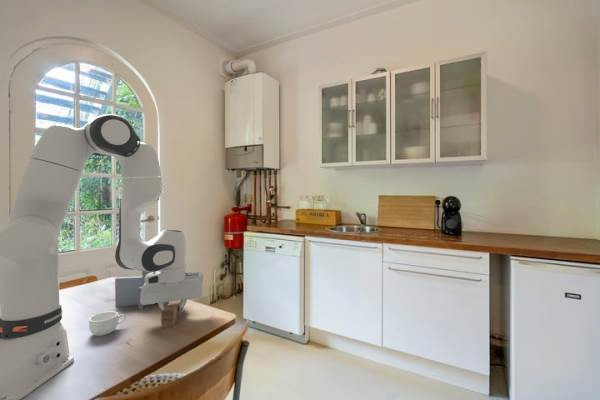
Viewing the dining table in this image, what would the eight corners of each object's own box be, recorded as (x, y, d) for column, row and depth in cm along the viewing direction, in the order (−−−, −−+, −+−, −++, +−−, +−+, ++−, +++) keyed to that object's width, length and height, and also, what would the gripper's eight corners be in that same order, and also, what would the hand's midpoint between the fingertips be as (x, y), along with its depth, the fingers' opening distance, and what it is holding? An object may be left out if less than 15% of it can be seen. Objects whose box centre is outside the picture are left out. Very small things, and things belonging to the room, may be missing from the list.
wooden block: (172, 326, 95) (172, 308, 95) (161, 327, 94) (161, 309, 94) (184, 308, 110) (183, 292, 110) (174, 308, 110) (174, 293, 110)
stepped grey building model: (163, 307, 111) (162, 261, 111) (110, 310, 108) (109, 263, 108) (168, 301, 118) (167, 257, 117) (118, 303, 114) (117, 259, 114)
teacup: (91, 341, 85) (91, 323, 85) (86, 332, 91) (86, 316, 91) (128, 330, 93) (128, 314, 92) (122, 322, 98) (122, 307, 98)
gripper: (202, 269, 108) (202, 305, 108) (141, 275, 100) (142, 313, 100) (203, 273, 102) (204, 311, 103) (139, 280, 94) (139, 321, 95)
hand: (172, 312), depth 101 cm, fingers closed on wooden block, 4 cm apart
